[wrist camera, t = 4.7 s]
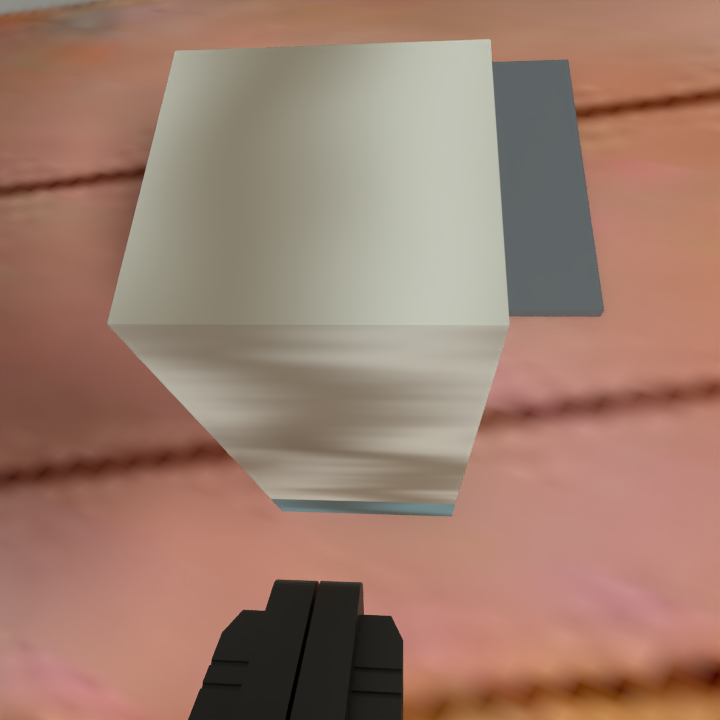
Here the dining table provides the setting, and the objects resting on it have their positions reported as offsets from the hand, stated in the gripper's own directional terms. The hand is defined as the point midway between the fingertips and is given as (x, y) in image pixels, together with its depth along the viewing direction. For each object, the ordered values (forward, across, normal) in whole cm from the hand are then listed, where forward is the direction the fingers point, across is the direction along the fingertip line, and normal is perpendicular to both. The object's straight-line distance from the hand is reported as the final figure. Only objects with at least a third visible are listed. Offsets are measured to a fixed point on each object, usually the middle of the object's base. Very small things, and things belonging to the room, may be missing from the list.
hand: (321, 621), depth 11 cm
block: (+12, 0, +2) cm, 12 cm away
